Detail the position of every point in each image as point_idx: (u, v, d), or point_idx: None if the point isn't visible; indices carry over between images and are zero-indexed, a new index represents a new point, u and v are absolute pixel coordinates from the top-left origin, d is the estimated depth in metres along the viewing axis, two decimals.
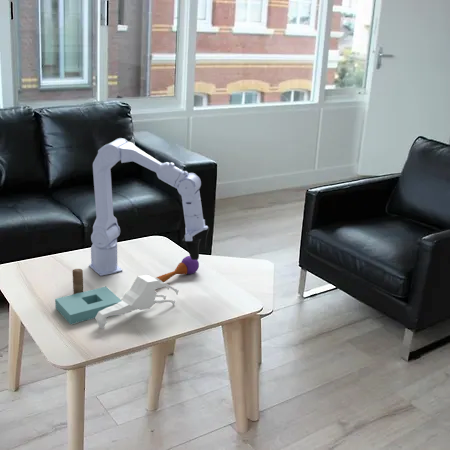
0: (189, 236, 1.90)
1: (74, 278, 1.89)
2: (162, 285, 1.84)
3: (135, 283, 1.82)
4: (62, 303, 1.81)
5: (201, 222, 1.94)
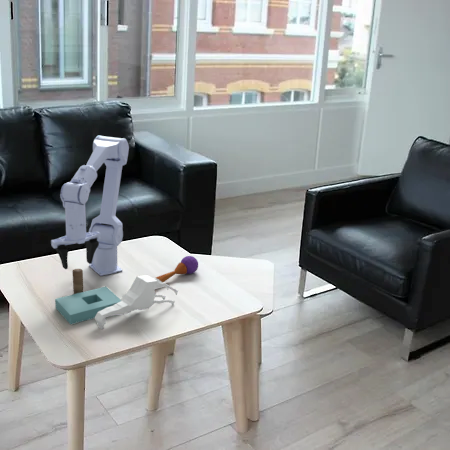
0: (53, 243, 1.82)
1: (74, 278, 1.89)
2: (162, 285, 1.84)
3: (134, 283, 1.82)
4: (62, 303, 1.81)
5: (76, 234, 1.83)
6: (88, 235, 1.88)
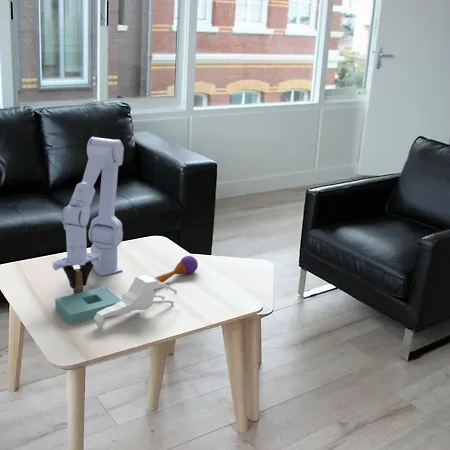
0: (54, 265, 1.84)
1: None
2: (161, 286, 1.84)
3: (133, 283, 1.82)
4: (62, 303, 1.81)
5: (77, 256, 1.85)
6: (89, 256, 1.90)
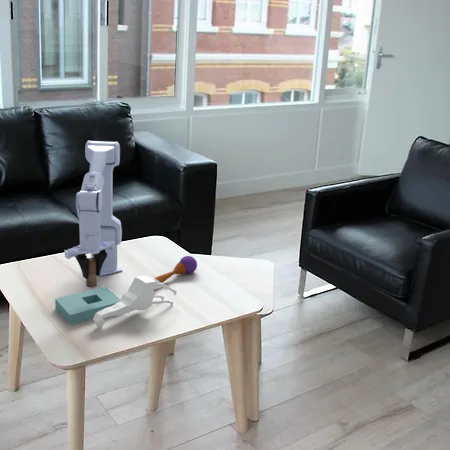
0: (66, 253, 1.74)
1: None
2: (160, 286, 1.84)
3: (133, 283, 1.82)
4: (62, 303, 1.81)
5: (90, 244, 1.75)
6: (102, 245, 1.80)
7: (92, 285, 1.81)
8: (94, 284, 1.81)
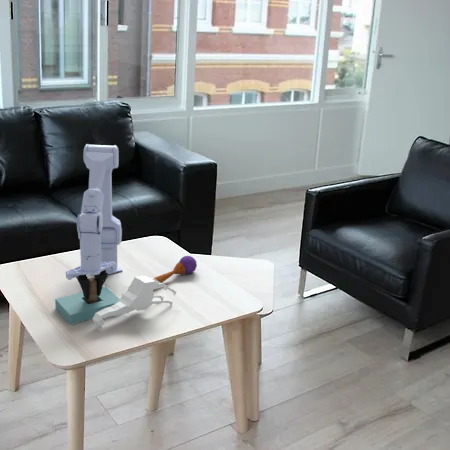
0: (67, 274, 1.76)
1: None
2: (160, 286, 1.84)
3: (132, 283, 1.82)
4: (62, 303, 1.81)
5: (91, 265, 1.77)
6: (103, 265, 1.83)
7: None
8: None
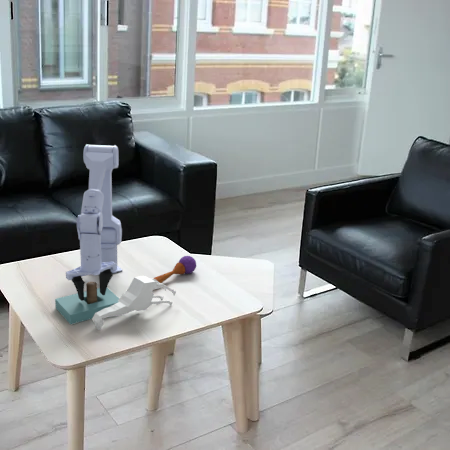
0: (67, 275, 1.76)
1: (88, 291, 1.82)
2: (160, 286, 1.84)
3: (132, 284, 1.81)
4: (62, 303, 1.81)
5: (91, 266, 1.77)
6: (103, 266, 1.83)
7: None
8: None
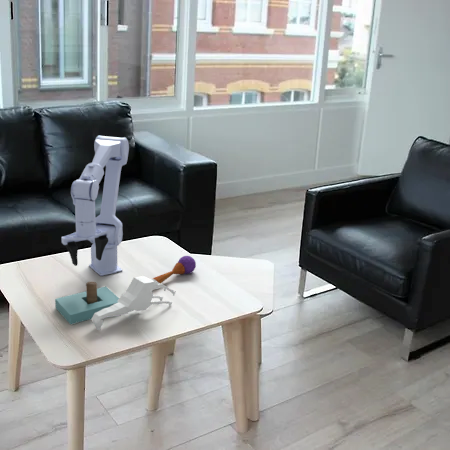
0: (63, 239, 1.83)
1: (88, 291, 1.82)
2: (159, 286, 1.84)
3: (131, 284, 1.81)
4: (62, 303, 1.81)
5: (86, 231, 1.84)
6: (97, 232, 1.89)
7: None
8: None
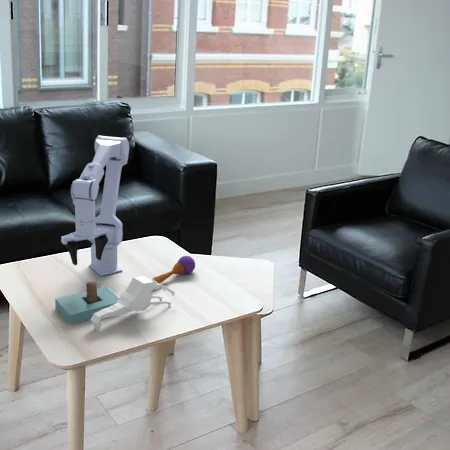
0: (63, 239, 1.83)
1: (88, 291, 1.82)
2: (158, 287, 1.84)
3: (131, 284, 1.81)
4: (62, 303, 1.81)
5: (86, 230, 1.84)
6: (97, 231, 1.89)
7: None
8: None
